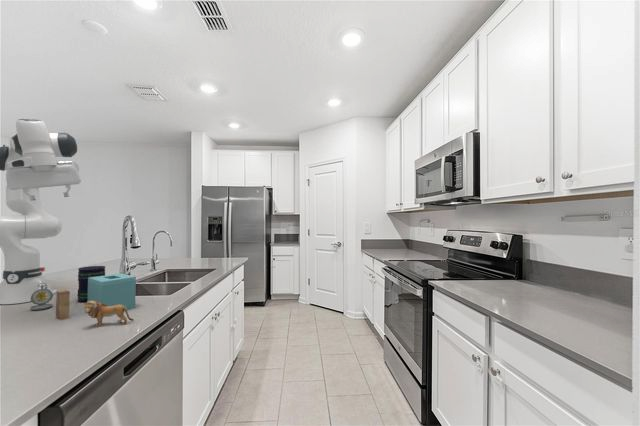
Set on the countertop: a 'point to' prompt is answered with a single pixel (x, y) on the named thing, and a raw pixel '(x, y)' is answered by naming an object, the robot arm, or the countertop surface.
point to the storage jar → (83, 280)
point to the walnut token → (62, 304)
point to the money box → (113, 290)
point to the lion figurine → (105, 311)
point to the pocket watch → (41, 295)
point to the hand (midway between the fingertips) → (50, 198)
